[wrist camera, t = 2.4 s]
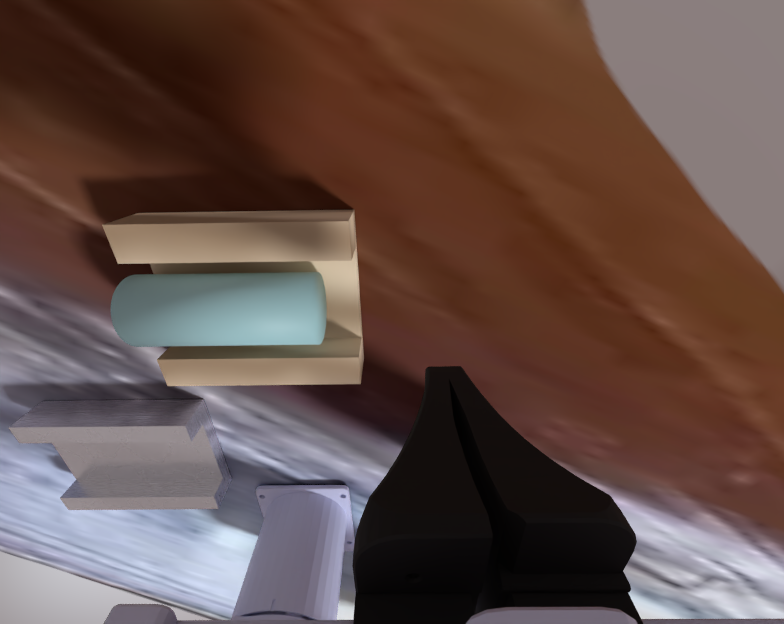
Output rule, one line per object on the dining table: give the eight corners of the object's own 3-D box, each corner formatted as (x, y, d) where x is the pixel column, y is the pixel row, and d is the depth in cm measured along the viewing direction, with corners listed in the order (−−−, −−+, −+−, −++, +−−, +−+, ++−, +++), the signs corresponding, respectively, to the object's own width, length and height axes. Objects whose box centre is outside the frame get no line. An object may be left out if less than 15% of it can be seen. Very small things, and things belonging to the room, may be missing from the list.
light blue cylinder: (322, 263, 20) (307, 285, 17) (328, 325, 22) (315, 358, 18) (153, 266, 20) (100, 288, 17) (170, 327, 22) (125, 360, 18)
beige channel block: (363, 358, 24) (360, 384, 21) (190, 360, 24) (167, 386, 22) (354, 209, 19) (348, 221, 17) (138, 212, 19) (101, 224, 17)
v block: (232, 479, 30) (218, 508, 27) (93, 480, 30) (68, 509, 28) (203, 399, 26) (185, 426, 23) (42, 400, 26) (8, 427, 23)
